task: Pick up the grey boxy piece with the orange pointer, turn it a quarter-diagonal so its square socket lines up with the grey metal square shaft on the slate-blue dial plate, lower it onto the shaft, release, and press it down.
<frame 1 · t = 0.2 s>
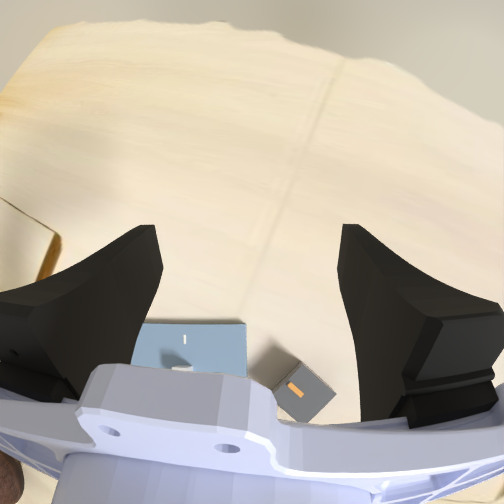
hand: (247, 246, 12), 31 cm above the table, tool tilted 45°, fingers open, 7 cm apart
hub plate: (187, 371, 41), on the table
wooden sphere: (13, 462, 39), on the table
grey boxy piece: (301, 390, 39), on the table
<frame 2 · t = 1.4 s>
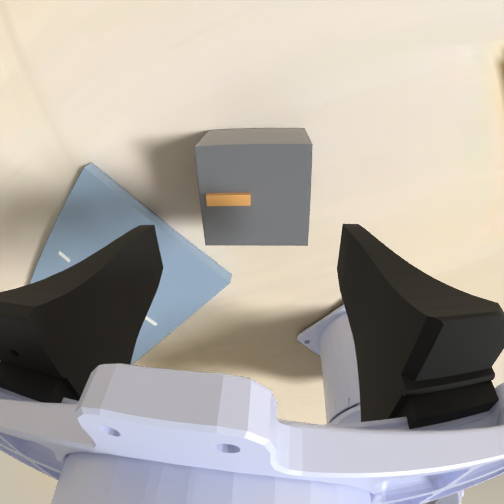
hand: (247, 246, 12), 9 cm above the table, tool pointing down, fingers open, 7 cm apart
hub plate: (111, 282, 25), on the table
grey boxy piece: (258, 172, 20), on the table
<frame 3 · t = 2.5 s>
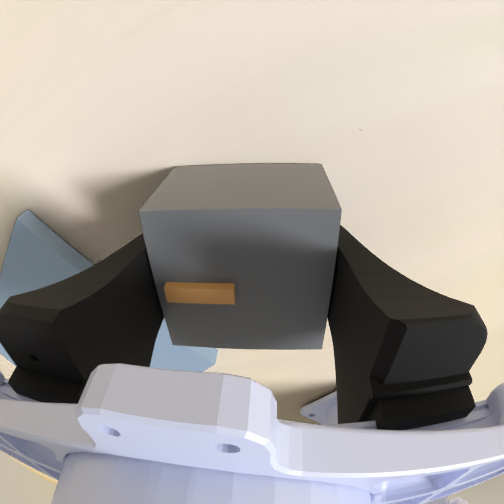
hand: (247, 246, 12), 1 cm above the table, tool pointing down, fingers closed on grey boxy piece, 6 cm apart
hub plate: (74, 345, 19), on the table
grey boxy piece: (249, 228, 13), on the table, touching gripper
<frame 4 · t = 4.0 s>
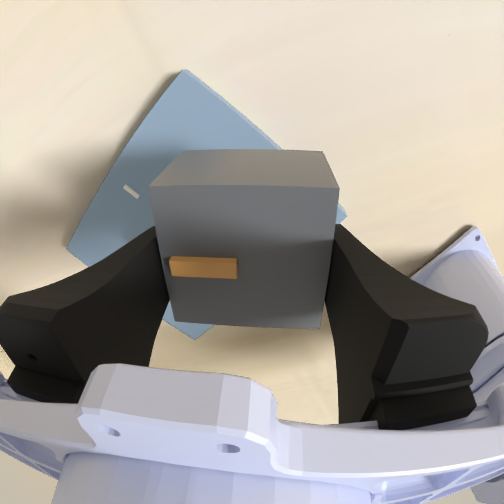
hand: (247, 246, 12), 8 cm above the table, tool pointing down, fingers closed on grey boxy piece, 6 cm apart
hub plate: (189, 226, 22), on the table
grey boxy piece: (252, 212, 14), point 6 cm above the table, touching gripper
when the fingers open (3 cm above the table, at t = 6.9 s): grey boxy piece stays where it is, resting on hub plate.
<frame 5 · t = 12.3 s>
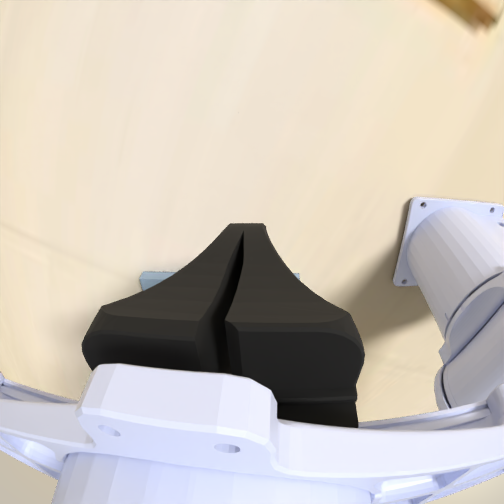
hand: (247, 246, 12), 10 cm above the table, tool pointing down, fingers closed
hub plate: (226, 339, 30), on the table
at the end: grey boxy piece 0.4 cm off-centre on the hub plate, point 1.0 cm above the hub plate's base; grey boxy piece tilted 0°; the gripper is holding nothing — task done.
